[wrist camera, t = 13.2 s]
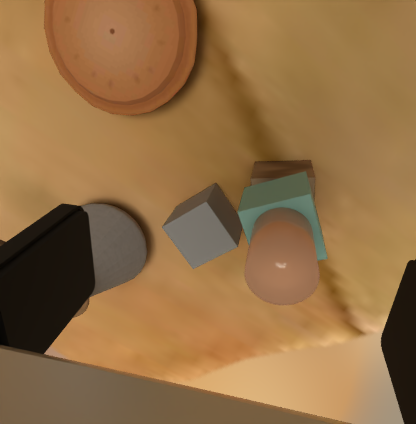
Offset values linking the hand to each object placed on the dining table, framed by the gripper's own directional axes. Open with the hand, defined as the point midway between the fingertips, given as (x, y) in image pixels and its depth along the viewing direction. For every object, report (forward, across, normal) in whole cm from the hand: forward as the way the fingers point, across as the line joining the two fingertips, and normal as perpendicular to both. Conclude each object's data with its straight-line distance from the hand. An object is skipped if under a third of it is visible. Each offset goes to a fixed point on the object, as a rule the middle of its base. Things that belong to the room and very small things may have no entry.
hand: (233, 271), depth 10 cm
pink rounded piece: (+18, -2, +8) cm, 20 cm away
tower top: (+24, -2, +8) cm, 25 cm away
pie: (+30, +16, -6) cm, 35 cm away
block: (+30, +6, +13) cm, 33 cm away
